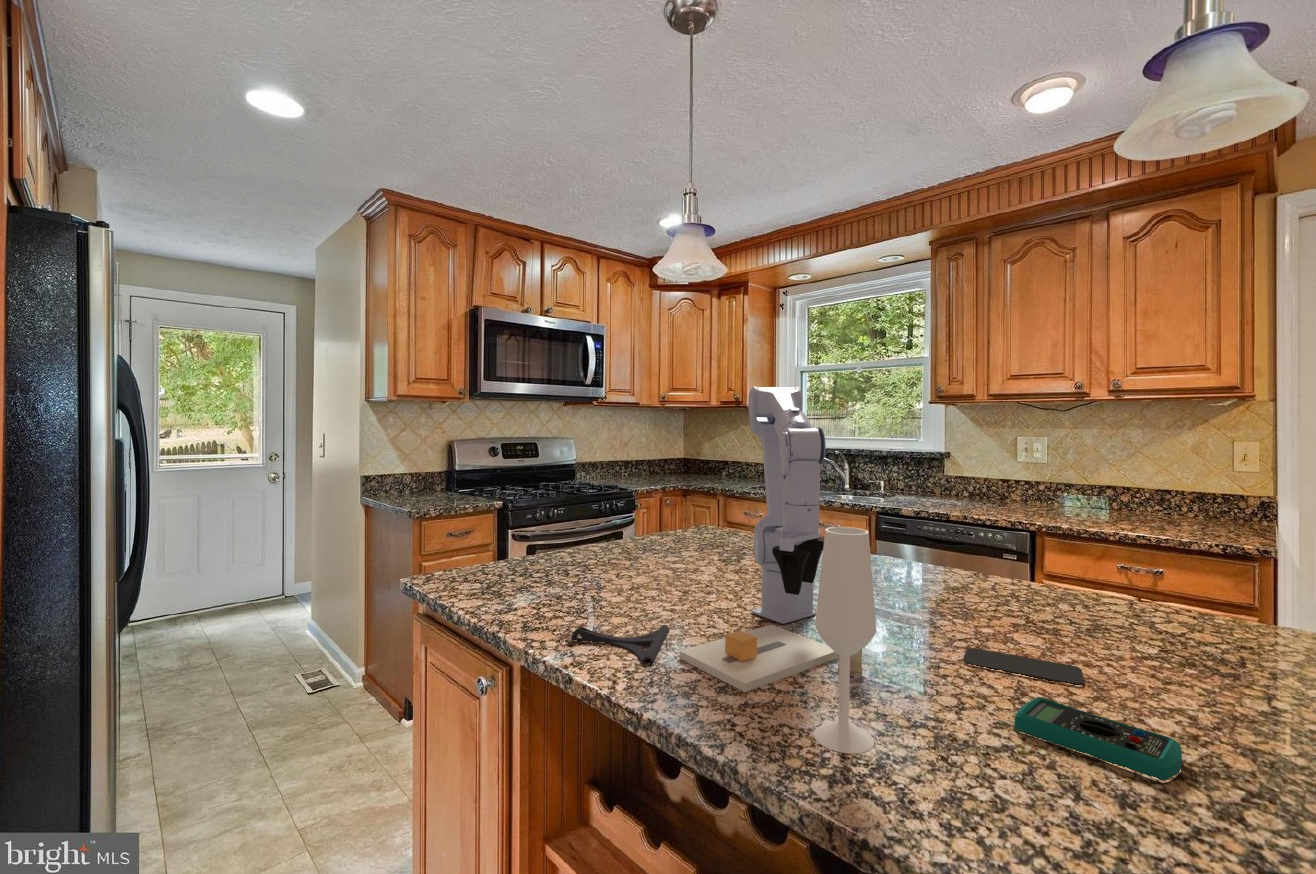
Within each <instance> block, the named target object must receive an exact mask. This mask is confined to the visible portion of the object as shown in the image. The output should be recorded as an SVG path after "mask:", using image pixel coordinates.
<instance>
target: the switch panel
mask: <svg viewBox="0 0 1316 874" xmlns="http://www.w3.org/2000/svg"><path fill="white" fill-rule="evenodd" d="M744 632H745V633H748V634H750V635H753V636H755V637H757V657H754V658H751V659H748V660H745V661H740V660H738V659H736V658H734V657H731V656H729V655H727V654H725V637H724V638H720V639H717V640H714V641H709V642H706V643H702V644H699V645H695V646H692V647H688V648H686V649H682V650H680V651H679V659H680V660H681V659H682V660H681V661H683V660H684V661H683V662H685V661H686V662H685V663H687V664H689V665H691V666H693V667H695V668H697V669H699V670H701V671H703V672H705V673H707V675H710V676H713V677H715V678H716V679H718V680H720V681H722V682H724V683H726V684H727V685H729V686H732V687H734V688H736V689H738V690H740V691H741V692H743V693H747V692H749V691H753V690H755V689H758V688H760V687H763V686H766V685H769V684H771V683H775V682H777V681H780V680H782V679H785V678H787V677H790V676H793V675H796V674H799V673H802V672H805V671H807V670H809V669H813V668H815V667H818V666H820V665H823V664H824V665H825V664H826V663H829V662H831V661H834V660H838V659H839V654H838V653H836V652H835V651H833V650H832V649H831V648H830V647H829V645H828V644H824V643H822V642H818V641H817V640H814V639H811V638H808V637H805V636H803V635H800V634H797V633H794V632H792V631H789V630H786V629H784V628H781V627H779V626H775V625H773V624H769V625H765V626H762V627H758V628H755V629H751V630H749V631H744Z"/></svg>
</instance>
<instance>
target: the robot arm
mask: <svg viewBox="0 0 1316 874" xmlns="http://www.w3.org/2000/svg"><path fill="white" fill-rule="evenodd" d="M802 410H803V394H802V390H801V389H800V388H799V386H792V387H789V386H784V387H783V386H777V387H775V386H756V385H753V386H752V387H751V388H750V389H749V393H748V416H749V417H748V419H749V426H750V430H751V433H753V434H755V435H757V436H758V437H759V440H760V445H761V448H762V449H761V450H762V457H763V458H762V461H763V470H764V471H763V472H764V473H763V474H764V484H765V485H764V486H765V498H766V499H765V501H766V513H767V515H765V516H763V518H761V519H760V520H758V521H757V523H756V524H755V526H754V530H753V535H754V538H753V556H754V561H755V563H756V564H757V565H758V566H761V607H758V608H755V609H751V613H752V614H754V615H757V616H760V617H763V618H765V619H767V620H770V621H773V622H776V623H779V624H781V625H782V624H783V625H784V624H788V623H791V622H794V621H798V620H801V619H804V618H808V617H812V616H816V611H815V610H814V583H815V579H816V575H817V571H818V567H819V566H818V565H819V563H820V562H819V561H820V559H821V556H822V554H823V547H824V538H825V537H821V529H820V505H821V504H820V502H821V501H820V500H821V497H820V496H821V493H820V492H821V491H820V490H821V465H822V464H823V463H824V461H825V457H826V445H827V444H826V443H827V442H826V436H825V432H824V430H823V427H820V426H819V427H813V426H812V424H811V422H810V420H809V419H808V417H807V415H806V414H805V412H803V411H802Z"/></svg>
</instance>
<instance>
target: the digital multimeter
mask: <svg viewBox="0 0 1316 874" xmlns="http://www.w3.org/2000/svg"><path fill="white" fill-rule="evenodd" d="M1013 729H1016V730H1019V731H1021V732H1024V733H1026V734H1029V735H1032V736H1035V737H1037V738H1041V739H1043V740H1046V741H1050V742H1053V743H1056V744H1059V745H1061V746H1064V747H1068V748H1070V749H1074V750H1076V751H1079V752H1083V753H1087V754H1090V755H1093V756H1094V757H1097V758H1099V759H1102V760H1105V761H1107V762H1110V763H1112V764H1117V765H1119V766H1123V767H1127V768H1129V769H1131V770H1135V771H1138V772H1140V773H1142V774H1143V773H1144V774H1146V775H1148V776H1153V777H1156V778H1158V779H1160V780H1167V779H1169V778H1171V777H1172V776H1174V775H1176V774H1177V773H1179V771H1180V769H1181V770H1182V766H1183V765H1182V764H1183V763H1182V762H1183V761H1182V760H1183V752H1182V751H1183V750H1182V747H1181V743H1179V742H1178V741H1177V740H1175V739H1174V738H1172V737H1169V736H1167V735H1163V734H1160V733H1156V732H1152V731H1149V730H1146V729H1142V728H1139V727H1136V726H1132V725H1130V724H1126V723H1124V722H1123V723H1122V722H1119V721H1116V720H1112V719H1109V718H1107V717H1103V716H1099V715H1097V714H1093V713H1090V712H1087V711H1083V710H1081V709H1078V708H1074V707H1071V706H1068V705H1067V704H1066V705H1065V704H1061V703H1059V702H1056V701H1054V700H1051V699H1048V698H1044V697H1042V696H1041V697H1040V696H1037V697H1034V698H1033V699H1030V700H1029V701H1027V702H1026V703H1024V704H1023V705H1022V706H1021V707H1020V708H1019V709H1018V710H1017V712H1016V713H1015V715H1014V728H1013Z"/></svg>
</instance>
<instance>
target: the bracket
mask: <svg viewBox="0 0 1316 874" xmlns="http://www.w3.org/2000/svg"><path fill="white" fill-rule="evenodd" d="M669 632H670V628H669V626H668V625H666V624H663V625H660V628H659V629H656V630H654V631H652V632H650V633H646V634H642V635H637V636H629V637H621V636H620V637H619V636H614V635H609V634H608V635H607V634H603V633H601V632H599V631H595V630H591V629H588V628H586V627H584V626H578V627H577V628H576V629H575V630H574V631H572V634H571V640H577V638H580V637H579V636H578V635H580V636H581V641H592V642H604V643H609V644H608V645H613V646H616V647H621V648H623V649H626V650H627V651H630V652H631V653H632V654H634V655H635V656H636V657H637V658H638V659H640V660H639V661H640V662H641V663H642V664H645V663H646V662H647V660H649V661H650V664H651V665H654V664H655V663H654V662H655V661H656V660H657V657H658V655H659V653H660V651H661V649H662V647H663V644H664V643H665V640H666V638H667V636H668V634H669ZM576 637H577V638H576ZM663 642H664V643H663ZM643 647H645V648H643ZM647 648H648V649H647ZM660 648H661V649H660ZM646 659H647V660H646Z"/></svg>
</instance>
